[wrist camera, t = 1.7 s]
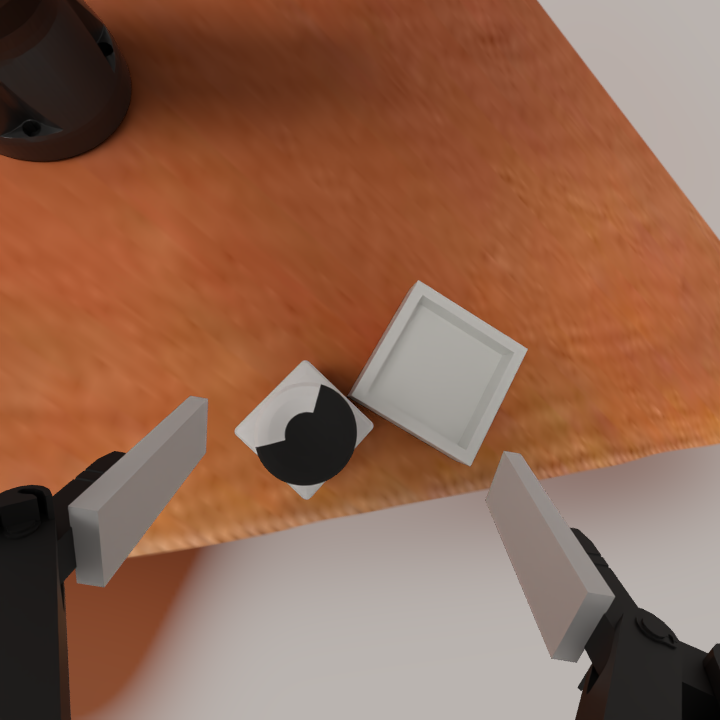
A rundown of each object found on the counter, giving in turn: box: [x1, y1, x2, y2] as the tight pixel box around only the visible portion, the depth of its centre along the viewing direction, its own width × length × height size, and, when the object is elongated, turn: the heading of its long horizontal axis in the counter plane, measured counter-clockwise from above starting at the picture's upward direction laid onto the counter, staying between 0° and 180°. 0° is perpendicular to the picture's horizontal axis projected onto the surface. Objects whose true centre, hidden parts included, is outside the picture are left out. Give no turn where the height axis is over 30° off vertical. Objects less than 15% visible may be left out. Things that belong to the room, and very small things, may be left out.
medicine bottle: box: [235, 360, 373, 499], centre depth 26 cm, size 7×7×12 cm
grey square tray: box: [347, 280, 528, 466], centre depth 33 cm, size 12×12×3 cm
